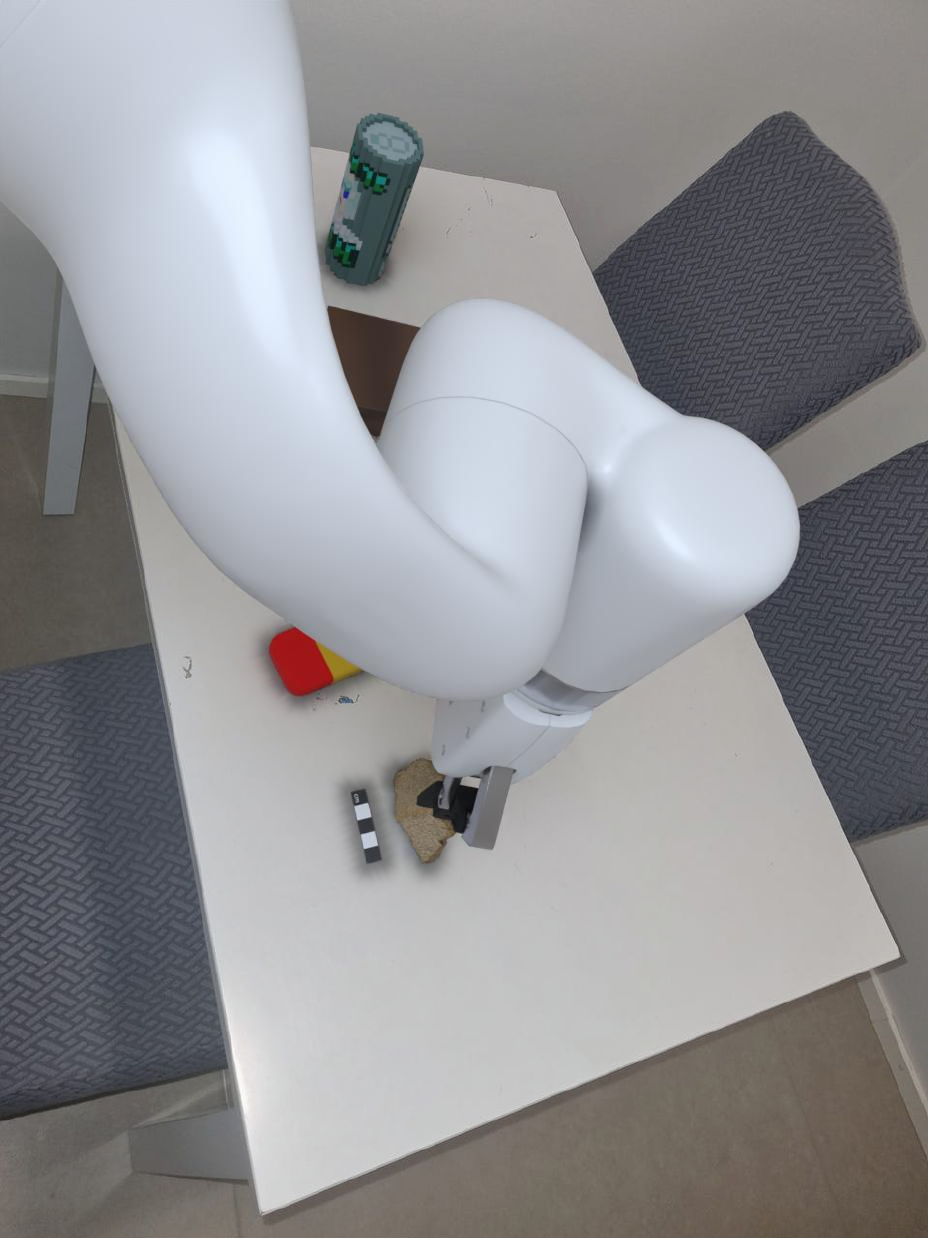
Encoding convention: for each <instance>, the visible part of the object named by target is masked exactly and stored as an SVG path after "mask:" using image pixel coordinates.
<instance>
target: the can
mask: <svg viewBox="0 0 928 1238" xmlns="http://www.w3.org/2000/svg"><path fill="white" fill-rule="evenodd" d="M424 156H425V150H424V143H423V137H419V134H418V131H417V130H414V127H413V126H411V125H409V122H406V121H402V120H400V117H397V116H394V115H390V114H386V113H382V112H377V114H373V113H369V114H368V115H364V117H360V121H359V122H357V124H356V128H355V131H354V134H353V139H352V143H351V147H350V151H349V154H348V157H347V162H346V166H345V170H344V173H343V177H342V181H341V185H340V189H339V192H338V197H337V201H336V204H335V208H334V212H333V216H332V219H331V220H332V221H331V223H330V226H329V227H330V229H329V231H328V235H327V239H326V243H325V247H324V257H325V264H326V265H329V271H331V272H333V274H334V275H337V278H338V279H342V280H345V282H346V283H349V284H354V285H361V286H366V285H367V284H371V285H372V284H373V283H374V282H377V280H380V278H381V277H382V276H381V275H383V274H384V271H385V268H386V265H387V263H388V259H389V257H390V254H391V251H392V248H393V245H394V242H395V239H396V236H397V234H398V231H399V228H400V226H401V223H402V219H403V216H404V214H405V210H406V207H407V205H408V202H409V199H410V196H411V193H412V190H413V187H414V184H415V182H416V179H417V176H418V173H419V170H420V167H421V165H422V162H423V158H424Z"/></svg>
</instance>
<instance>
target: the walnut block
mask: <svg viewBox="0 0 928 1238" xmlns="http://www.w3.org/2000/svg"><path fill="white" fill-rule="evenodd" d="M326 307H327V311H328V316H329V321H330V326H331V331H332V334H333V337H334V341H335V344H336V348H337V351H338V355H339V358H340V362H341V365H342V368H343V372H344V375H345V378H346V380H347V383H348V385H349V388H350V390H351V393H352V395H353V398H354V400H355V403H356V405H357V408H358V410H359V413H360V415H361V417H362V419H363V421H364V423H365V425H366V427H367V429H368V431H369V433H370V435H371V436H375V437H378V438H379V437H380V434H381V430H382V427H383V424H384V421H385V418H386V415H387V412H388V409H389V406H390V402H391V399H392V396H393V393H394V390H395V387H396V384H397V381H398V377H399V374H400V371H401V368H402V365H403V363H404V360H405V357H406V355H407V353H408V350H409V348H410V345H411V343H412V341H413V339H414V338H415V336H416V334H417V333H418V331H419V330H420V328H421V327H422V326H416V325H412V324H408V323H405V322H404V323H403V322H401V321H395V320H391V319H388V318H383V317H378V316H374V315H370V314H366V313H363V312H357V311H354V310H353V311H352V310H349V309H345V308H341V307H338V306H333V305H330V304H329V305H328V304H327V306H326Z"/></svg>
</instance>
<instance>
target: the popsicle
mask: <svg viewBox="0 0 928 1238" xmlns="http://www.w3.org/2000/svg"><path fill="white" fill-rule="evenodd" d="M268 646H269V647H268V654H269V657H270V660H271V662H272V663H273V665H274V667H275V670H276V672H277V674H278V675H279V678H280V679H281V681H282V683H283V686H284V687H285V689H286V690H287V692H289V693H290V694H291V695H293V696H296V697H304V696H307V695H311V694H313V693H315V692H317V691H320V690H322V689H324V688H326V687H329V686H331V685H333V684H335V683H338V682H340V681H342V680H345V679H347V678H349V677H353V676H355V675H357V674H359V673H361V672H363V671H364V670H363V669H361V668H359V667H357V666H355V665H353V664H351V663H350V662H348V661H347V660H345V659H344V658H342V657H340V656H339V655H337V654H336V653H334V652H333V651H331V650H329V649H328V648H326V647H325V646H323V645H321V644H320V643H318V642H317V641H315V640H314V639H312V638H311V637H309V636H308V635H306V634H305V633H303V632H302V631H301V630H299V629H298V628H296V627H295V626H293V627H292V628H291V627H290V628H289V629H286V630H284V631H281V632H279V633H277V634H275V636H274V637H273V638H271V641H270V642H269V645H268Z"/></svg>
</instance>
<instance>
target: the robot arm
mask: <svg viewBox="0 0 928 1238" xmlns="http://www.w3.org/2000/svg"><path fill="white" fill-rule="evenodd" d="M297 28H298V27H297V24H296V19H295V15H294V11H293V8H292V5H291V2H290V0H0V203H2V204H3V205H4V206H5V207H6V208H7V209H8V210H9V211H10V212H12V213H13V215H15V216H16V217H17V218H18V219H19V221H21V222H22V224H24V225H25V226H26V227H27V228H28V229H29V230H30V231H31V232H32V233H33V235H35V237H36V238H37V240H39V241H40V243H41V244H42V245H43V246H44V248H45V249H46V251H47V252H48V254H49V255H50V256H51V258H52V260H53V261H54V263H55V265H56V267H57V269H58V271H59V273H60V275H61V276H62V277H61V278H62V280H63V281H64V284H65V286H66V288H67V290H68V291H67V292H68V293H69V296H70V299H71V302H72V304H73V308H74V310H75V313H76V315H77V318H78V322H79V325H80V327H81V330H82V333H83V337H84V339H85V342H86V345H87V348H88V351H89V353H90V356H91V359H92V361H93V364H94V366H95V369H96V372H97V374H98V377H99V378H100V381H101V383H102V385H103V388H104V391H105V393H106V395H107V397H108V399H109V402H110V403H111V405H112V407H113V409H114V412H115V413H116V415H117V418H118V420H119V421H120V423H121V425H122V427H123V429H124V431H125V433H126V434H127V437H128V438H129V441H130V443H131V444H132V446H133V448H134V450H135V452H136V454H137V455H138V457H139V459H140V461H141V463H142V464H143V466H144V468H145V469H146V471H147V473H148V474H149V476H150V478H151V481H153V484H154V485H155V487H156V489H157V490H158V492H159V494H160V495H161V497H162V498H163V500H164V502H165V503H166V505H167V507H168V508H169V510H170V511H171V513H172V515H174V517H175V518H176V520H177V521H178V523H179V524H180V525H181V527H182V529H183V530H184V531H185V533H186V534H187V535H188V537H189V538H190V540H191V541H192V542H193V544H194V545H195V546H196V547H197V548H198V550H199V551H200V552H201V553H202V554H203V555H204V556H205V557H206V558H207V559H208V560H209V561H210V562H211V564H212V565H213V566H214V567H215V568H216V569H217V570H218V571H219V572H221V574H223V575H224V576H225V577H226V578H227V579H228V580H229V581H231V582H232V583H233V584H234V585H235V586H236V587H237V588H239V589H240V590H242V592H244V593H246V594H247V595H249V596H250V598H252V599H254V600H255V601H256V602H258V603H259V604H260V605H262V606H264V607H265V608H266V609H268V610H269V611H271V612H272V613H274V614H276V616H279V617H280V618H281V619H282V620H285V621H286V622H287V623H289V624H290V625H292V626H293V627H296V628H298V629H299V630H301V631H302V632H303V633H305V634H306V635H308V636H309V637H311V638H312V639H314V640H315V641H317V642H318V643H320V644H321V645H323V646H325V647H326V648H328V649H329V650H331V651H333V652H334V653H336V654H337V655H339V656H340V657H342V658H344V659H345V660H347V661H348V662H350V663H351V664H353V665H355V666H357V667H359V668H361V669H363V670H364V671H365V672H366V673H368V674H370V675H372V676H374V677H376V678H378V679H379V680H381V681H383V682H385V683H387V684H390V685H392V686H395V687H398V688H400V689H402V690H404V691H407V692H410V693H413V694H416V695H420V696H424V697H427V698H431V699H435V707H434V708H435V709H434V715H433V725H432V732H431V744H430V760H432V763H433V765H434V768H435V769H436V771H437V772H438V773H441V774H444V775H446V777H445V780H444V781H436V782H434V783H433V784H432V785H430V786H429V787H428V788H426V789H425V790H423V791H422V792H421V793H420V794H419V795H418V796H417V803H416V805H417V806H421V807H426V808H431V809H433V817H435V818H439V819H444V820H451V825H452V826H453V830H454V832H456V834H460V835H461V839H462V841H464V843H465V844H466V845H467V847H471V848H475V849H482V850H487V851H493V850H494V848H495V845H496V842H497V839H498V838H497V837H498V834H499V830H500V826H501V822H502V818H503V814H504V810H505V807H506V802H507V799H508V795H509V791H510V787H511V786H513V785H515V784H517V783H520V782H522V781H523V780H526V779H527V778H529V777H530V776H531V775H533V774H535V773H536V772H538V771H539V770H540V769H542V768H543V767H544V766H546V765H547V764H548V763H550V762H551V761H552V760H553V759H554V758H555V757H556V756H557V755H559V754H560V753H561V752H562V751H563V750H564V749H565V748H566V747H567V746H568V745H569V744H570V743H571V742H572V741H573V739H575V738H576V737H577V735H579V733H580V732H581V731H582V730H583V728H584V727H585V726H586V725H587V724H588V723H589V721H590V720H591V718H592V715H593V713H594V710H595V709H596V708H598V707H600V706H602V705H603V704H605V703H606V702H608V701H609V700H610V699H612V698H614V697H615V696H617V695H618V694H620V693H622V692H623V691H625V690H626V689H628V688H629V687H631V686H632V685H634V684H636V683H637V682H639V681H641V680H642V679H643V678H645V677H647V676H649V675H650V674H652V673H653V672H654V671H656V670H658V669H660V668H661V667H663V666H664V665H665V664H667V663H669V662H670V661H672V660H674V659H675V658H677V657H678V656H681V654H683V653H685V652H687V651H688V650H690V649H691V648H693V647H694V646H696V645H697V644H699V643H700V642H702V641H703V640H705V639H707V638H709V637H710V636H712V635H713V634H714V633H716V632H717V631H720V630H721V629H722V628H724V627H726V626H727V625H729V624H731V623H732V622H734V621H735V620H737V619H738V618H740V617H741V616H743V615H745V614H747V613H748V612H749V611H751V610H752V609H753V608H756V606H758V605H759V604H761V602H763V601H765V600H766V599H767V598H768V597H770V596H771V595H772V594H773V593H775V592H776V590H778V588H779V587H780V586H781V585H782V583H783V582H784V581H785V580H786V579H787V577H788V575H789V573H790V571H791V569H792V567H793V565H794V562H795V561H796V558H797V556H798V555H797V554H798V551H799V546H800V534H801V523H800V515H799V510H798V509H799V508H798V506H797V503H796V500H795V497H794V494H793V492H792V489H791V487H790V486H789V483H788V481H787V479H786V478H785V476H784V475H783V473H782V472H781V470H780V469H779V468H778V466H777V464H776V463H775V462H774V461H773V460H772V458H771V457H770V456H769V455H768V454H767V453H766V452H765V450H763V449H762V448H761V447H760V446H759V445H758V444H756V442H754V441H753V440H751V438H749V437H747V436H746V435H745V434H743V433H742V432H741V431H738V430H737V429H735V428H733V427H731V426H729V425H727V424H724V423H722V422H719V421H717V420H714V419H711V418H710V419H709V418H705V417H701V416H693V415H686V414H685V415H684V414H682V413H680V412H679V411H677V410H676V409H674V408H672V407H671V406H669V405H668V404H667V403H665V402H664V401H662V400H661V399H659V398H658V397H657V396H655V395H654V394H653V393H651V392H650V391H648V390H647V389H645V388H644V387H643V386H641V385H640V384H639V383H638V382H636V381H635V380H634V379H632V378H631V377H630V376H628V375H627V374H626V373H625V372H623V371H622V370H621V369H620V368H618V367H617V366H616V365H614V364H613V363H611V362H610V361H609V360H608V359H606V358H605V357H604V356H603V355H601V353H599V352H597V350H595V349H594V348H592V347H591V346H590V345H588V344H587V343H586V342H584V341H583V340H582V339H580V338H579V337H577V336H576V335H575V334H574V333H573V332H571V331H569V330H568V329H566V328H564V327H563V326H562V325H560V324H559V323H557V322H556V321H554V320H552V319H551V318H549V317H546V316H545V315H543V314H541V313H539V312H538V311H535V310H534V309H531V308H529V307H525V306H523V305H520V304H517V303H515V302H511V301H506V300H504V299H497V298H489V297H473V298H466V299H463V300H458V301H455V302H452V303H450V304H447V305H446V306H444V307H442V308H441V309H439V310H438V311H436V312H435V313H434V314H432V315H431V316H430V317H428V319H427V320H426V321H425V322H424V323H423V324H422V326H420V327H421V328H420V330H419V331H418V333H417V334H416V336H415V338H414V339H413V341H412V343H411V345H410V348H409V350H408V353H407V355H406V357H405V360H404V363H403V365H402V368H401V371H400V374H399V377H398V381H397V384H396V387H395V390H394V393H393V396H392V399H391V402H390V406H389V409H388V412H387V415H386V418H385V421H384V424H383V427H382V430H381V434H380V437H379V436H378V440H377V444H376V442H375V440H374V439H373V437H372V436H373V435H370V433H369V431H368V429H367V427H366V425H365V423H364V421H363V419H362V417H361V415H360V413H359V410H358V408H357V405H356V403H355V400H354V398H353V395H352V393H351V390H350V388H349V385H348V383H347V380H346V378H345V375H344V372H343V368H342V365H341V362H340V358H339V355H338V351H337V348H336V344H335V341H334V337H333V334H332V331H331V326H330V321H329V316H328V311H327V307H328V306H327V302H326V298H325V293H324V288H323V280H322V274H321V265H320V258H319V250H318V241H317V229H316V227H317V226H316V211H315V210H316V209H315V197H314V196H315V195H314V182H313V181H314V179H313V167H312V166H313V165H312V164H313V163H312V149H311V147H312V146H311V132H310V120H309V113H308V112H309V111H308V101H307V89H306V88H307V87H306V81H305V75H304V68H303V61H302V55H301V48H300V41H299V36H298V29H297ZM467 777H468V778H469V777H470V778H474V779H479V785H478V787H475V786H470V785H465V784H461V783H462V780H463V778H467Z"/></svg>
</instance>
